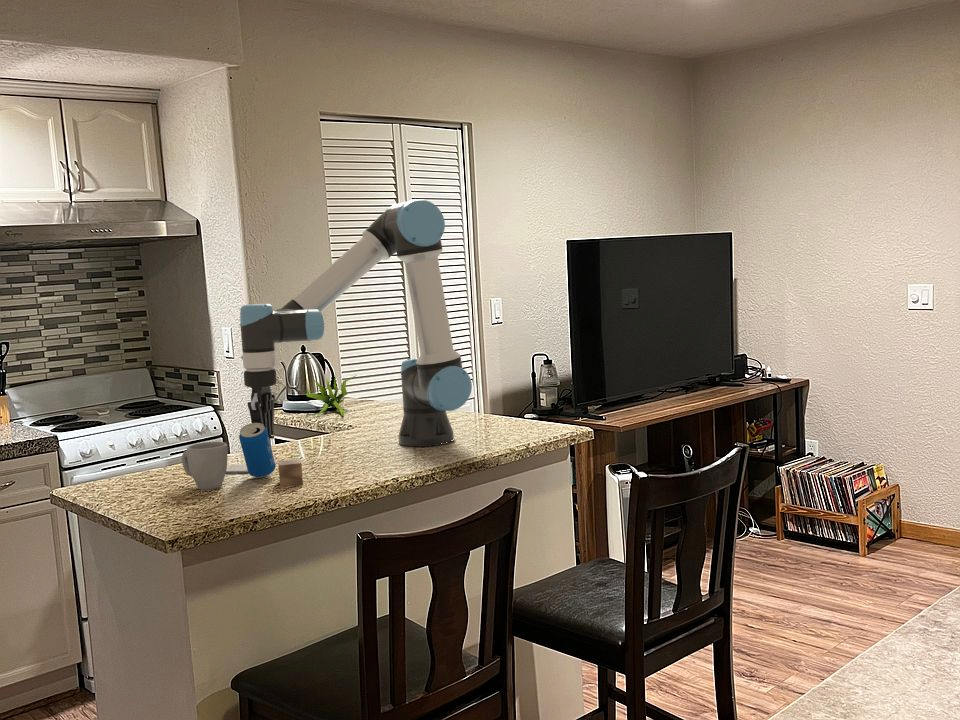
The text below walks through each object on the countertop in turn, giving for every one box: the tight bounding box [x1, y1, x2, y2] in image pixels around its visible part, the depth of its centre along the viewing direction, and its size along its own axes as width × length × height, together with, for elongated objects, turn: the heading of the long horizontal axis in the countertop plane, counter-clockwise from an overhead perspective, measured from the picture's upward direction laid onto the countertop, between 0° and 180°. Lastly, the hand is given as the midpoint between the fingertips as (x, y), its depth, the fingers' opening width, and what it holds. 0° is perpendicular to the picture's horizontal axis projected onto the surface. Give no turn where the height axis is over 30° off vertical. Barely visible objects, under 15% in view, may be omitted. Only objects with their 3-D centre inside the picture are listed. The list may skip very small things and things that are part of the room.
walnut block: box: [277, 458, 304, 488], centre depth 209 cm, size 5×5×5 cm
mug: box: [181, 441, 229, 491], centre depth 209 cm, size 12×9×10 cm
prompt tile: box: [225, 463, 249, 475], centre depth 226 cm, size 9×9×1 cm
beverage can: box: [238, 422, 276, 479], centre depth 214 cm, size 6×6×12 cm
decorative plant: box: [306, 374, 358, 418], centre depth 311 cm, size 18×30×15 cm, turn 168°
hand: (265, 466), depth 221 cm, fingers closed
